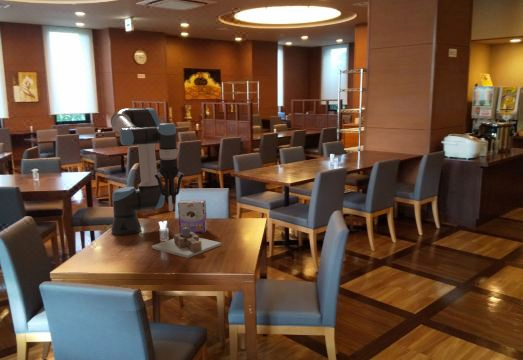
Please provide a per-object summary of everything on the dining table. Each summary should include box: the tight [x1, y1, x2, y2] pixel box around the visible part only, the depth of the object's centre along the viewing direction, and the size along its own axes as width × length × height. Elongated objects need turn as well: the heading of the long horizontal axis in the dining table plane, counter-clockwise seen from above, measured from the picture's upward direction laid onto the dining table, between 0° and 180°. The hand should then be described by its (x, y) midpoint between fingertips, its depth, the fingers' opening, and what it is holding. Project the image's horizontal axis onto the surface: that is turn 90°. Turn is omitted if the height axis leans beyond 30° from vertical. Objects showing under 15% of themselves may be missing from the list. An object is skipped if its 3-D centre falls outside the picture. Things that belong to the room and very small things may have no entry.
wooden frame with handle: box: [173, 232, 200, 252], centre depth 215 cm, size 18×9×4 cm, turn 28°
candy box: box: [177, 199, 208, 234], centre depth 243 cm, size 14×6×16 cm, turn 84°
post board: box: [151, 227, 222, 259], centre depth 218 cm, size 24×22×9 cm
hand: (171, 210), depth 209 cm, fingers closed
